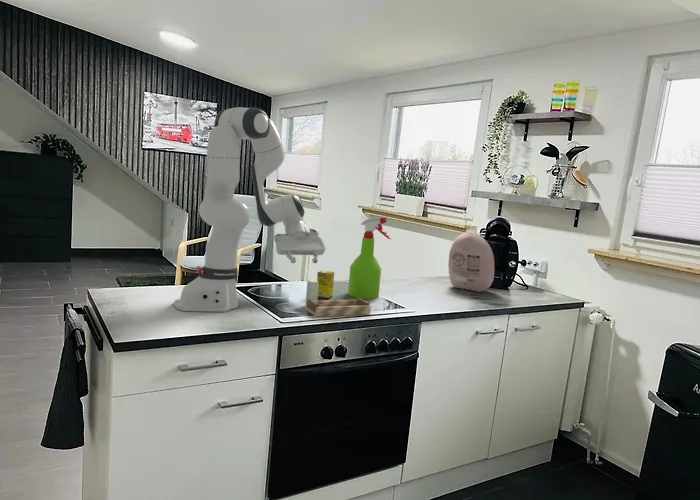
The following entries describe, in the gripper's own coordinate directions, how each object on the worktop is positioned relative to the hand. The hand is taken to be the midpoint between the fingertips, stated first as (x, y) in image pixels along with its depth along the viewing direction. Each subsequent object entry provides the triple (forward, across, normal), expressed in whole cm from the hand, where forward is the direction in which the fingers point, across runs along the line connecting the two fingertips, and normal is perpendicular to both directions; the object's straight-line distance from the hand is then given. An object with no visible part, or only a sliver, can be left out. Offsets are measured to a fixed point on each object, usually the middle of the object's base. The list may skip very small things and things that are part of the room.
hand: (304, 262), depth 206 cm
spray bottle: (+8, +33, +14) cm, 37 cm away
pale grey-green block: (+18, 0, +4) cm, 18 cm away
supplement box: (+8, +12, +14) cm, 20 cm away
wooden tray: (+24, +7, -2) cm, 25 cm away
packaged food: (+3, +96, +19) cm, 98 cm away
